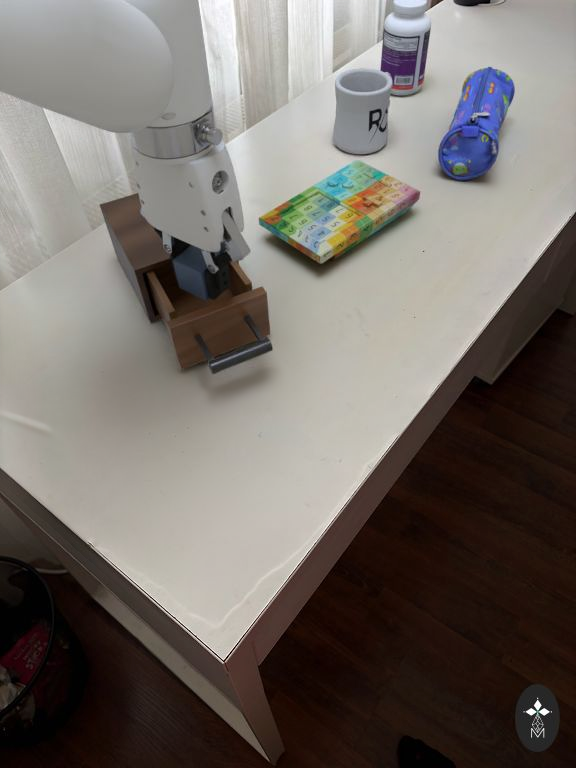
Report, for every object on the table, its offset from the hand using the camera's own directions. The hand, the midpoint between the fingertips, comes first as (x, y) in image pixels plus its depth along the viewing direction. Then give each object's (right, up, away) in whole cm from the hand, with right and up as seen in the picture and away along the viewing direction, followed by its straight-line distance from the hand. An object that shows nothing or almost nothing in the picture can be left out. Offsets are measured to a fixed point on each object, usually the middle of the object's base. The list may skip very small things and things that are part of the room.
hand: (203, 282), depth 66 cm
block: (0, 0, 0) cm, 0 cm away
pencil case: (+39, +27, +30) cm, 57 cm away
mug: (+22, +30, +33) cm, 50 cm away
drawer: (+1, -5, +5) cm, 7 cm away
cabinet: (-5, +4, +13) cm, 15 cm away
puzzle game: (+17, +11, +19) cm, 27 cm away
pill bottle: (+30, +44, +44) cm, 69 cm away
